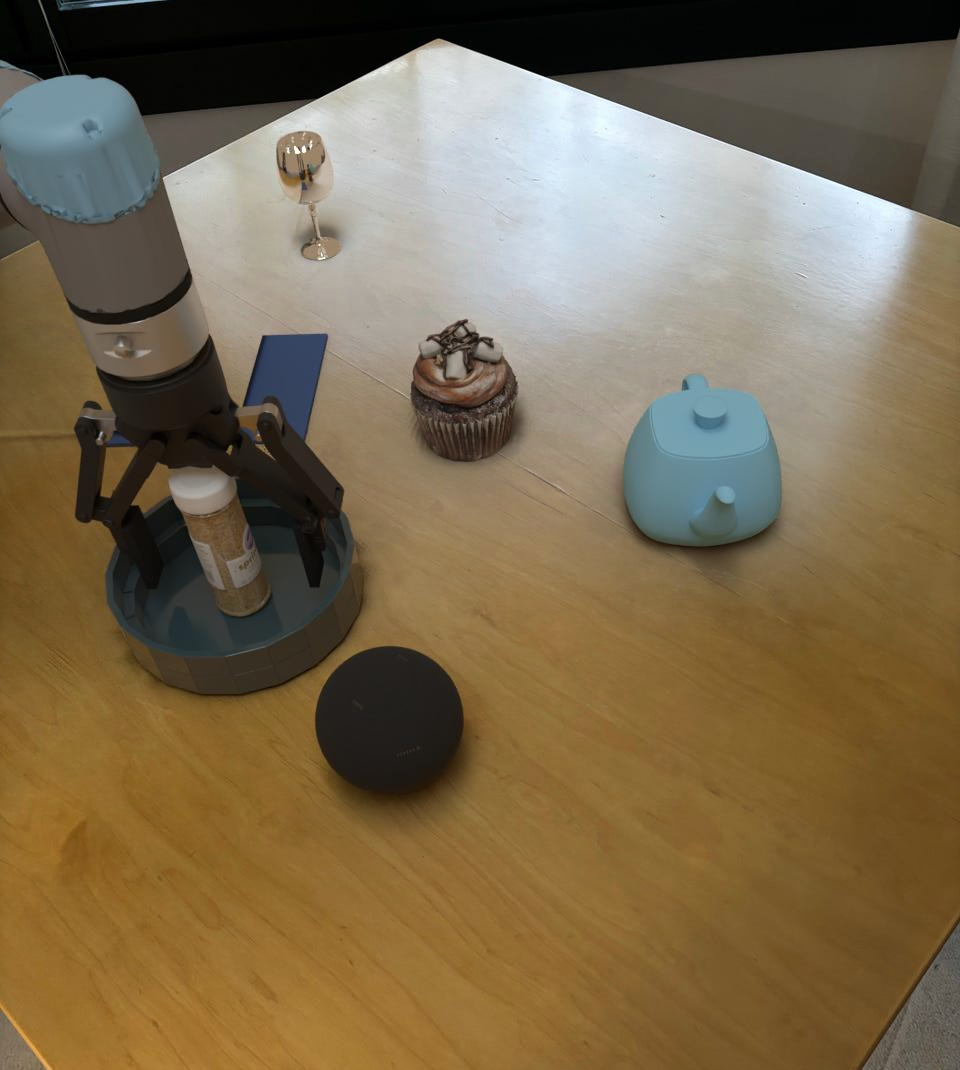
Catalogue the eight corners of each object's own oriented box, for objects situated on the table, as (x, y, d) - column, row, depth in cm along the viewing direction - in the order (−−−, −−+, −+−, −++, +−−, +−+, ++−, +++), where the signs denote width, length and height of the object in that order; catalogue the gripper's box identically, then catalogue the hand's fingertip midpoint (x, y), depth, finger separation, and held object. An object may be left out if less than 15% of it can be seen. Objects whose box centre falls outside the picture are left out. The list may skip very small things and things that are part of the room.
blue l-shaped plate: (93, 447, 100) (92, 443, 100) (135, 342, 110) (134, 338, 110) (304, 442, 98) (303, 439, 98) (328, 336, 108) (327, 333, 108)
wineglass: (357, 242, 119) (338, 135, 109) (325, 268, 116) (303, 161, 107) (316, 229, 121) (294, 123, 112) (284, 255, 118) (259, 149, 109)
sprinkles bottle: (275, 612, 85) (233, 488, 75) (218, 624, 85) (167, 502, 74) (269, 571, 88) (228, 446, 78) (213, 582, 88) (165, 459, 77)
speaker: (379, 682, 81) (359, 596, 73) (494, 734, 77) (485, 649, 69) (301, 784, 76) (270, 702, 68) (420, 845, 72) (402, 766, 64)
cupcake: (393, 438, 98) (377, 346, 90) (466, 384, 102) (457, 292, 94) (469, 483, 94) (460, 391, 86) (542, 426, 98) (539, 333, 90)
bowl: (98, 697, 82) (75, 657, 78) (157, 517, 94) (139, 475, 90) (347, 697, 80) (336, 656, 76) (375, 514, 92) (366, 471, 88)
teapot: (642, 502, 76) (617, 346, 87) (635, 601, 84) (613, 447, 95) (822, 491, 75) (774, 336, 86) (797, 591, 83) (756, 438, 95)
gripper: (-54, 390, 66) (72, 613, 83) (335, 380, 64) (384, 610, 81) (-14, 318, 71) (98, 542, 88) (350, 306, 69) (394, 538, 86)
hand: (236, 575), depth 84 cm, fingers open, 12 cm apart
